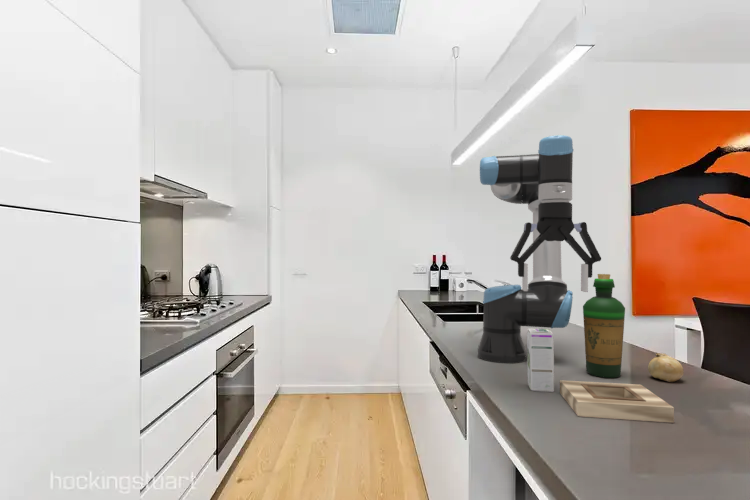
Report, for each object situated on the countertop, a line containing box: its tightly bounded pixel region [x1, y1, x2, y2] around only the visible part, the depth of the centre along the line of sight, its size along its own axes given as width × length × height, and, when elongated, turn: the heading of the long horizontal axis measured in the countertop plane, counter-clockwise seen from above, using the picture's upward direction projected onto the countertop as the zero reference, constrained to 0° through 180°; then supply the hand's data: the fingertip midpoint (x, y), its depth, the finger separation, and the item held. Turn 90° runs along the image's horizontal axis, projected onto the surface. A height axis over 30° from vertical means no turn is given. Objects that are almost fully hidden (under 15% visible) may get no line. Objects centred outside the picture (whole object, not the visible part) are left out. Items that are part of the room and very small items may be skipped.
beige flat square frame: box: [559, 379, 675, 424], centre depth 99 cm, size 16×18×3 cm
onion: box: [647, 352, 685, 383], centre depth 121 cm, size 8×8×7 cm
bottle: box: [582, 273, 626, 379], centre depth 126 cm, size 11×11×28 cm
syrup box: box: [526, 327, 555, 393], centre depth 112 cm, size 6×6×14 cm
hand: (554, 291), depth 108 cm, fingers open, 13 cm apart
